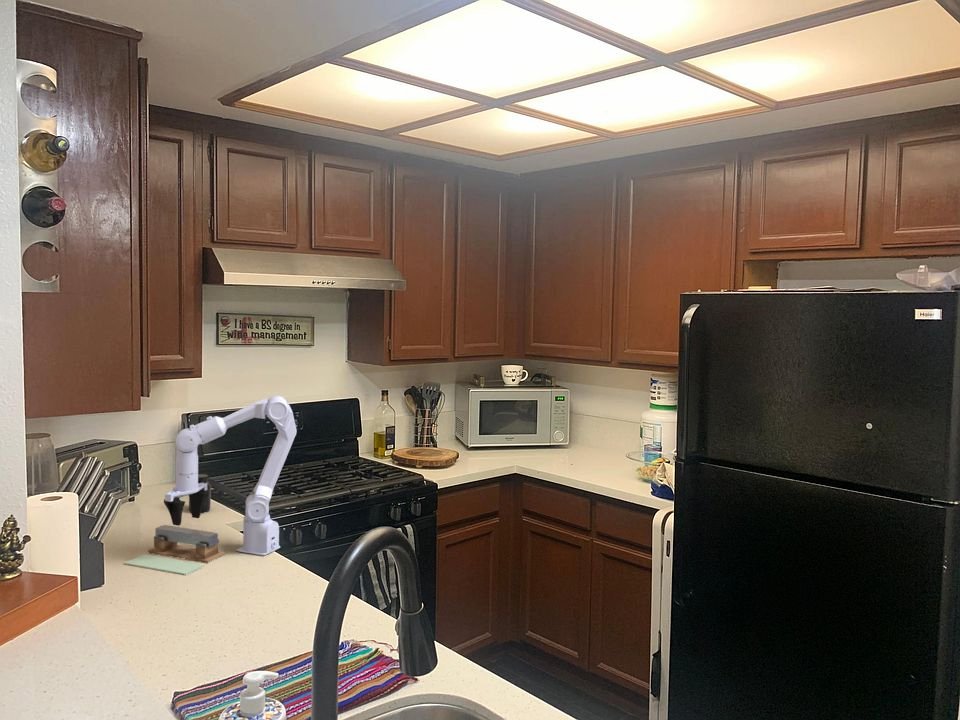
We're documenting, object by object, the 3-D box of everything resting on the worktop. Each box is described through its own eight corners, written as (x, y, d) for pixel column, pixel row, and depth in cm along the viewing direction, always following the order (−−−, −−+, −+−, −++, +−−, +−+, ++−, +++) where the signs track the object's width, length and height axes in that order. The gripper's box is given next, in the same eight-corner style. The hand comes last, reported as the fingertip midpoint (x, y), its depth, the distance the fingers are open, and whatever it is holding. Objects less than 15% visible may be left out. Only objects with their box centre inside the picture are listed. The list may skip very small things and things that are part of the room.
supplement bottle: (196, 515, 239) (196, 479, 239) (184, 511, 244) (184, 475, 243) (214, 510, 245) (215, 475, 244) (203, 507, 249) (203, 472, 248)
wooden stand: (224, 555, 202) (224, 538, 202) (207, 563, 196) (207, 546, 196) (166, 545, 209) (166, 529, 208) (147, 552, 202) (147, 536, 202)
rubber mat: (204, 566, 193) (204, 565, 193) (186, 575, 187) (186, 573, 186) (143, 556, 199) (143, 554, 199) (123, 564, 193) (124, 562, 193)
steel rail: (217, 543, 201) (217, 533, 201) (209, 547, 198) (209, 536, 197) (164, 535, 206) (164, 524, 206) (155, 538, 203) (155, 528, 203)
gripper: (193, 466, 209) (192, 512, 210) (155, 476, 195) (155, 526, 196) (213, 468, 207) (212, 515, 208) (177, 479, 193) (176, 529, 194)
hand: (186, 521), depth 202 cm, fingers open, 7 cm apart
